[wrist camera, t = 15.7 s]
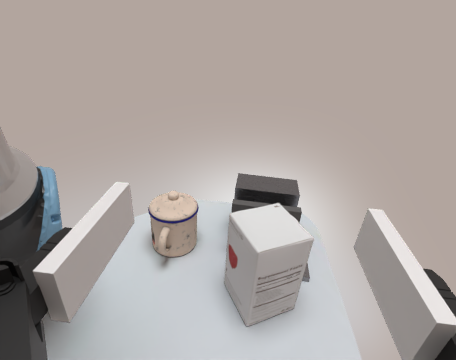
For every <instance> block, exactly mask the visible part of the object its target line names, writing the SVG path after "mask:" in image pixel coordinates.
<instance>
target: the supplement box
mask: <svg viewBox="0 0 456 360" xmlns="http://www.w3.org/2000/svg"><path fill="white" fill-rule="evenodd" d="M313 241H314V237H313V236H312V235H311V234H310V233H309V232H308V231H307V230H306V229H305V228H304V227H303V226H302V225H301V224H299V222H298V221H297V220H296V219H295V218H294V217H293V216H292V215H290V214H289V213H288V212H287V211H286V210H285V209H284V208H283V207H282V206H281V205H280V204H279V203H276V204H272V205H267V206H263V207H258V208H253V209H247V210H241V211H237V212H233V213H230V217H229V228H228V241H227V253H226V265H225V277H224V284H225V286H226V288H227V290H228V292H229V294H230V296H231V298H232V300H233V302H234V304H235V305H236V307H237V309H238V311H239V313H240V315H241V317H242V319H243V321H244V323H245V325H246V326H250V325H253V324H255V323H258V322H260V321H263V320H266V319H268V318H271V317H273V316H276V315H278V314H281V313H283V312H286V311H288V310H291V309H293V308H294V306H295V302H296V299H297V295H298V292H299V289H300V285H301V282H302V278H303V275H304V271H305V268H306V264H307V261H308V257H309V254H310V250H311V247H312V244H313Z"/></svg>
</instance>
